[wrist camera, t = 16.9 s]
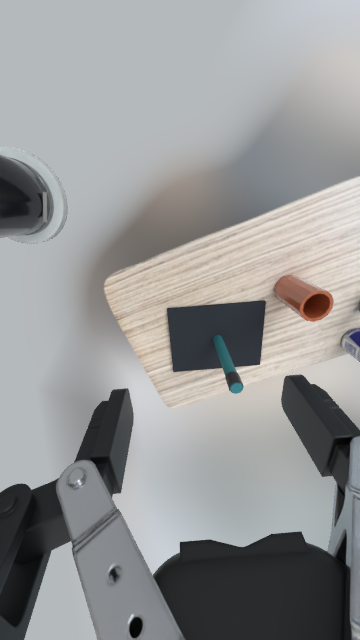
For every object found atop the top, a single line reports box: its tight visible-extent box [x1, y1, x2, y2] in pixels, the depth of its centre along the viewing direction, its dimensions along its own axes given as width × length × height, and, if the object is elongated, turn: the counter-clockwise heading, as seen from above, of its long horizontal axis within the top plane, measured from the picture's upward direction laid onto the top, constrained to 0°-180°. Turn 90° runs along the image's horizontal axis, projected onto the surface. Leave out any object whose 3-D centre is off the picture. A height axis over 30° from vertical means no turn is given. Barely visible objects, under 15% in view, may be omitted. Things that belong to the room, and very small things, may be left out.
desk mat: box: [167, 301, 266, 372], centre depth 45 cm, size 18×14×1 cm
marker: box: [213, 335, 243, 393], centre depth 38 cm, size 2×2×14 cm
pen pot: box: [275, 275, 333, 321], centre depth 37 cm, size 5×5×9 cm
